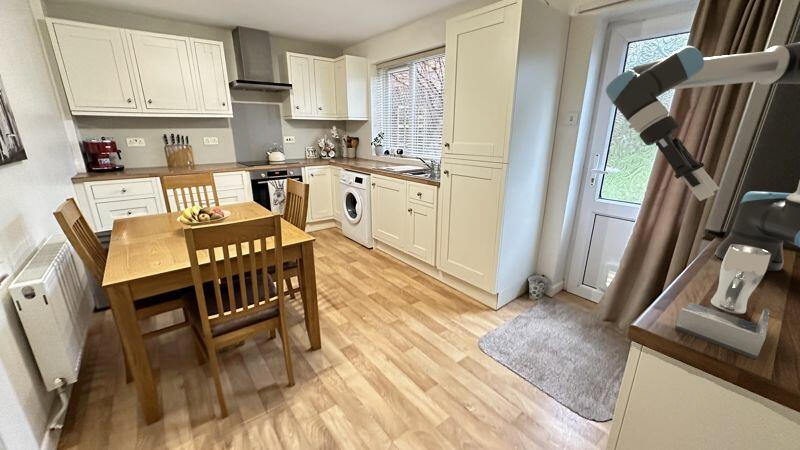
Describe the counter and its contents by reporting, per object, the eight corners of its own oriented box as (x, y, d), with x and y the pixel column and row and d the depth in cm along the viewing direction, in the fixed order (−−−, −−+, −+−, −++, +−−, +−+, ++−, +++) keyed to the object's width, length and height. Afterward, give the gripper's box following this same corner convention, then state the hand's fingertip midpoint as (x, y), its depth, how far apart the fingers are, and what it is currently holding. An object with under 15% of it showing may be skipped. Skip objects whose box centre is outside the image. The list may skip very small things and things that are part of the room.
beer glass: (700, 298, 80) (720, 243, 76) (728, 299, 80) (750, 244, 76) (726, 314, 74) (749, 255, 69) (756, 315, 74) (782, 256, 69)
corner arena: (689, 304, 77) (695, 287, 76) (761, 329, 69) (770, 309, 67) (674, 328, 68) (681, 308, 67) (755, 359, 59) (765, 338, 58)
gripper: (648, 135, 92) (697, 197, 87) (625, 133, 76) (684, 209, 70) (678, 117, 87) (732, 181, 81) (660, 110, 70) (726, 191, 65)
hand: (710, 194), depth 76 cm, fingers open, 13 cm apart
